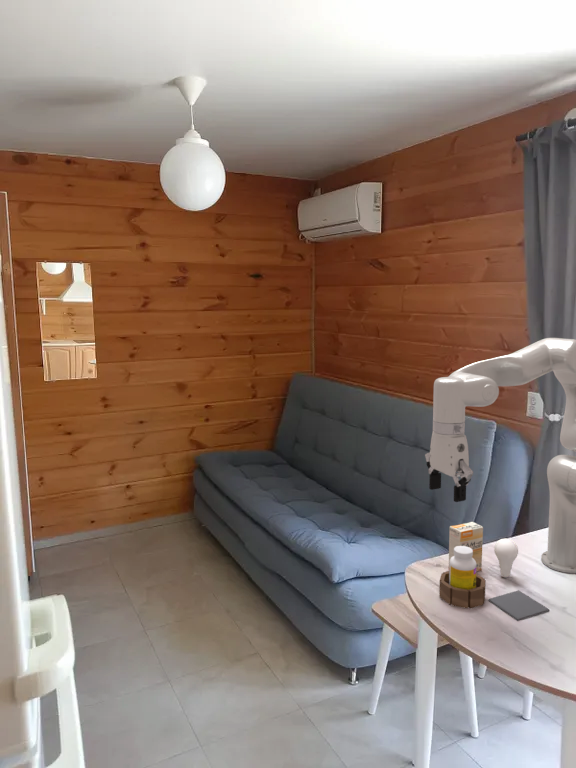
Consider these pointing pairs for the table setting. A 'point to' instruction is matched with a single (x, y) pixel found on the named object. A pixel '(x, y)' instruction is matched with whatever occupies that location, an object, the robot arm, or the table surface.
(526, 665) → the table surface
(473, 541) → the supplement box
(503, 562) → the lightbulb
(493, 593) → the table surface
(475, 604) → the ring stand
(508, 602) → the mat
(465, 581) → the supplement bottle
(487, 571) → the table surface
